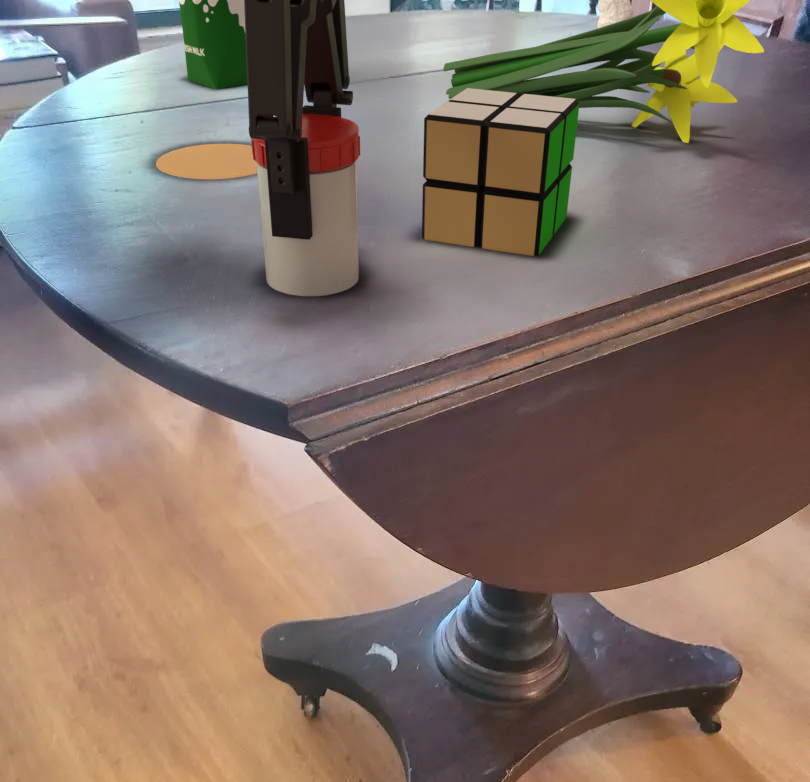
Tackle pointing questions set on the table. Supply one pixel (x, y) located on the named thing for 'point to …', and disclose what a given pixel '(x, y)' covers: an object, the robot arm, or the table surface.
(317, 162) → the lid
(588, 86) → the daffodil flowers
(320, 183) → the jar
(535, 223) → the puzzle cube
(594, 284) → the table surface
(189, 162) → the coaster
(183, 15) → the milk carton
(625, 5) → the koala figurine
